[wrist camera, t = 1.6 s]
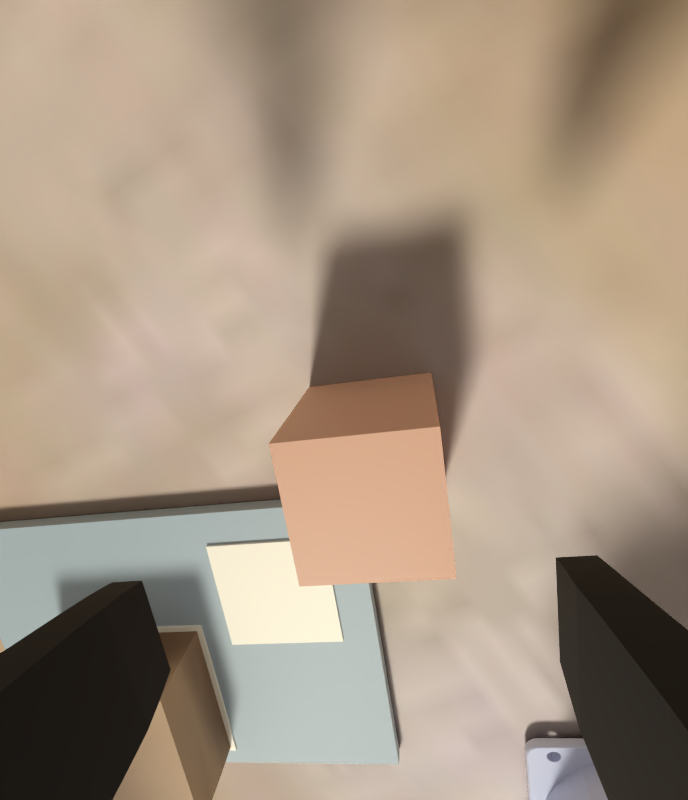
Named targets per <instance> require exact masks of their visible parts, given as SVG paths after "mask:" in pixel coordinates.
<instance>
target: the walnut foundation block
mask: <svg viewBox="0 0 688 800" xmlns="http://www.w3.org/2000/svg"><path fill="white" fill-rule="evenodd" d="M159 635H160V638H161V641H162V644H163V647H164V650H165V653H166V657H167V660H168V663H169V666H170V669H171V670H170V673H169V676H168V679H167V682H166V684H165V687H164V690H163V693H162V696H161V698H160V701H159V704H158V706H157V709H156V711H155V714H154V716H153V719H152V721H151V724H150V726H149V729H148V731H147V733H146V735H145V737H144V739H143V741H142V743H141V745H140V747H139V749H138V751H137V753H136V755H135V757H134V759H133V761H132V763H131V765H130V767H129V769H128V771H127V773H126V775H125V777H124V779H123V781H122V783H121V785H120V786H119V788H118V790H117V792H116V794H115V796H114V798H113V800H212V798H213V795H214V793H215V790H216V787H217V784H218V781H219V779H220V776H221V773H222V770H223V767H224V765H225V762H226V759H227V756H228V753H229V751H230V748H231V746H230V743H229V739H228V736H227V732H226V729H225V726H224V722H223V719H222V715H221V712H220V709H219V705H218V702H217V698H216V695H215V691H214V688H213V685H212V681H211V678H210V674H209V671H208V667H207V664H206V661H205V657H204V654H203V650H202V647H201V644H200V640H199V637H198V633H197V631H188V632H159Z"/></svg>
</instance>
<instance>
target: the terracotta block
mask: <svg viewBox="0 0 688 800" xmlns="http://www.w3.org/2000/svg"><path fill="white" fill-rule="evenodd" d="M269 447H270V451H271V456H272V461H273V465H274V470H275V475H276V479H277V484H278V489H279V493H280V498H281V503H282V508H283V512H284V517H285V522H286V526H287V531H288V536H289V540H290V545H291V550H292V554H293V559H294V564H295V568H296V573H297V578H298V582H299V587H300V586H320V585H340V584H360V583H380V582H400V581H420V580H440V579H457V578H456V568H455V559H454V550H453V541H452V532H451V522H450V513H449V504H448V495H447V485H446V476H445V467H444V458H443V449H442V439H441V430H440V423H439V417H438V410H437V404H436V398H435V392H434V386H433V380H432V374H431V372H430V373H421V374H413V375H404V376H396V377H388V378H379V379H371V380H363V381H354V382H346V383H337V384H329V385H321V386H312V387H309V388H308V390H307V391H306V393H305V394H304V395H303V397H302V398H301V400H300V401H299V402H298V404H297V405H296V407H295V408H294V409H293V411H292V412H291V414H290V415H289V416H288V418H287V419H286V421H285V422H284V423H283V425H282V426H281V428H280V429H279V430H278V432H277V433H276V435H275V436H274V437H273V439H272V440H271V442H270V443H269Z"/></svg>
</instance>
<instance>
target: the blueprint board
mask: <svg viewBox="0 0 688 800" xmlns="http://www.w3.org/2000/svg"><path fill="white" fill-rule="evenodd" d="M127 581H142V582H143V585H144V588H145V591H146V594H147V598H148V601H149V604H150V607H151V610H152V613H153V616H154V619H155V622H156V625H157V629H158V632H188V631H197V633H198V637H199V640H200V644H201V647H202V650H203V654H204V657H205V661H206V664H207V667H208V671H209V674H210V678H211V681H212V685H213V688H214V691H215V695H216V698H217V702H218V705H219V709H220V712H221V715H222V719H223V722H224V726H225V729H226V732H227V736H228V739H229V743H230V746H231V748H230V751H229V753H228V756H227V759H226V762H252V763H326V764H399V745H398V739H397V733H396V727H395V720H394V714H393V708H392V702H391V696H390V690H389V684H388V678H387V672H386V666H385V660H384V654H383V648H382V642H381V636H380V630H379V624H378V618H377V612H376V606H375V600H374V594H373V588H372V583H360V584H340V585H320V586H300V587H299V582H298V578H297V573H296V568H295V564H294V559H293V554H292V550H291V545H290V540H289V536H288V531H287V526H286V522H285V517H284V512H283V508H282V503H281V499H279V500H267V501H254V502H242V503H229V504H217V505H204V506H192V507H180V508H167V509H155V510H142V511H130V512H117V513H105V514H93V515H80V516H68V517H55V518H43V519H30V520H18V521H6V522H0V639H1V641H2V644H3V646H4V648H5V650H6V649H8V648H9V647H11V646H12V645H14V644H15V643H17V642H18V641H20V640H21V639H23V638H24V637H26V636H27V635H29V634H30V633H32V632H33V631H35V630H36V629H38V628H39V627H41V626H42V625H44V624H45V623H47V622H48V621H50V620H51V619H53V618H54V617H56V616H58V615H59V614H61V613H62V612H64V611H65V610H67V609H68V608H70V607H71V606H73V605H75V604H76V603H78V602H79V601H81V600H82V599H84V598H86V597H87V596H89V595H91V594H92V593H94V592H96V591H97V590H99V589H101V588H103V587H105V586H106V585H108V584H110V583H112V582H127Z"/></svg>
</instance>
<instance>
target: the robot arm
mask: <svg viewBox="0 0 688 800" xmlns="http://www.w3.org/2000/svg"><path fill="white" fill-rule="evenodd" d="M556 571H557V596H558V621H559V646H560V663H561V666H562V670H563V673H564V677H565V680H566V684H567V687H568V691H569V694H570V698H571V701H572V705H573V708H574V711H575V715H576V718H577V721H578V725H579V728H580V731H581V734H582V736H583V738H534V739H531V740H529V741H528V742H527V743H526V744H525V760H526V774H527V788H528V800H688V630H687V629H686V628H685V627H683V626H682V625H681V624H680V623H678V622H677V621H676V620H675V619H673V618H672V617H671V616H670V615H668V614H667V613H666V612H665V611H664V610H662V609H661V608H660V607H659V606H657V605H656V604H655V603H654V602H653V601H651V600H650V599H649V598H648V597H647V596H645V595H644V594H643V593H642V592H641V591H639V590H638V589H637V588H636V587H634V586H633V585H632V584H631V583H630V582H629V581H627V580H626V579H625V578H624V577H623V576H621V575H620V574H619V573H618V572H616V571H615V570H614V569H613V568H612V567H610V566H609V565H608V564H607V563H606V562H604V561H603V560H602V559H601V558H599V557H598V556H579V557H561V558H556ZM170 670H171V669H170V666H169V663H168V660H167V657H166V653H165V650H164V647H163V644H162V641H161V638H160V635H159V632H158V629H157V625H156V622H155V619H154V616H153V613H152V610H151V607H150V604H149V601H148V598H147V594H146V591H145V588H144V585H143V582H142V581H127V582H112V583H110V584H108V585H106V586H105V587H103V588H101V589H99V590H97V591H96V592H94V593H92V594H91V595H89V596H87V597H86V598H84V599H82V600H81V601H79V602H78V603H76V604H75V605H73V606H71V607H70V608H68V609H67V610H65V611H64V612H62V613H61V614H59V615H58V616H56V617H54V618H53V619H51V620H50V621H48V622H47V623H45V624H44V625H42V626H41V627H39V628H38V629H36V630H35V631H33V632H32V633H30V634H29V635H27V636H26V637H24V638H23V639H21V640H20V641H18V642H17V643H15V644H14V645H12V646H11V647H9V648H8V649H6V650H5V651H3V652H2V653H0V800H113V798H114V796H115V794H116V792H117V790H118V788H119V786H120V785H121V783H122V781H123V779H124V777H125V775H126V773H127V771H128V769H129V767H130V765H131V763H132V761H133V759H134V757H135V755H136V753H137V751H138V749H139V747H140V745H141V743H142V741H143V739H144V737H145V735H146V733H147V731H148V729H149V726H150V724H151V721H152V719H153V716H154V714H155V711H156V709H157V706H158V704H159V701H160V698H161V696H162V693H163V690H164V687H165V684H166V682H167V679H168V676H169V673H170Z"/></svg>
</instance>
